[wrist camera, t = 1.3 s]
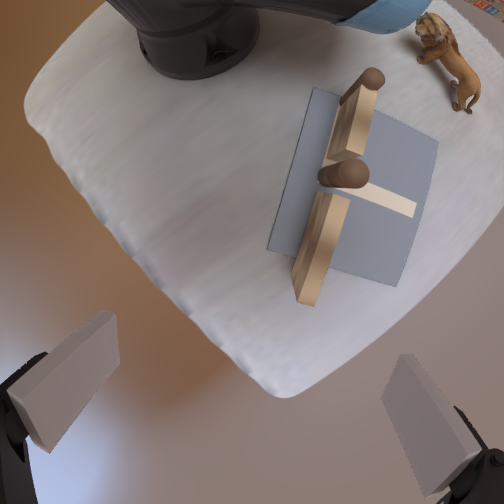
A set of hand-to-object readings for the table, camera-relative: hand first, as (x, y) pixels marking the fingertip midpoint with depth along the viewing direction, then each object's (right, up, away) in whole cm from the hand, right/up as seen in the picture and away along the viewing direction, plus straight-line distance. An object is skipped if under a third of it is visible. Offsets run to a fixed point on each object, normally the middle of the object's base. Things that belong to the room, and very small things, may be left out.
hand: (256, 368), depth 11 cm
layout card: (+13, +12, +19) cm, 26 cm away
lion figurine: (+25, +30, +15) cm, 42 cm away
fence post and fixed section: (+10, +18, +18) cm, 27 cm away
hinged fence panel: (+6, +7, +20) cm, 22 cm away
